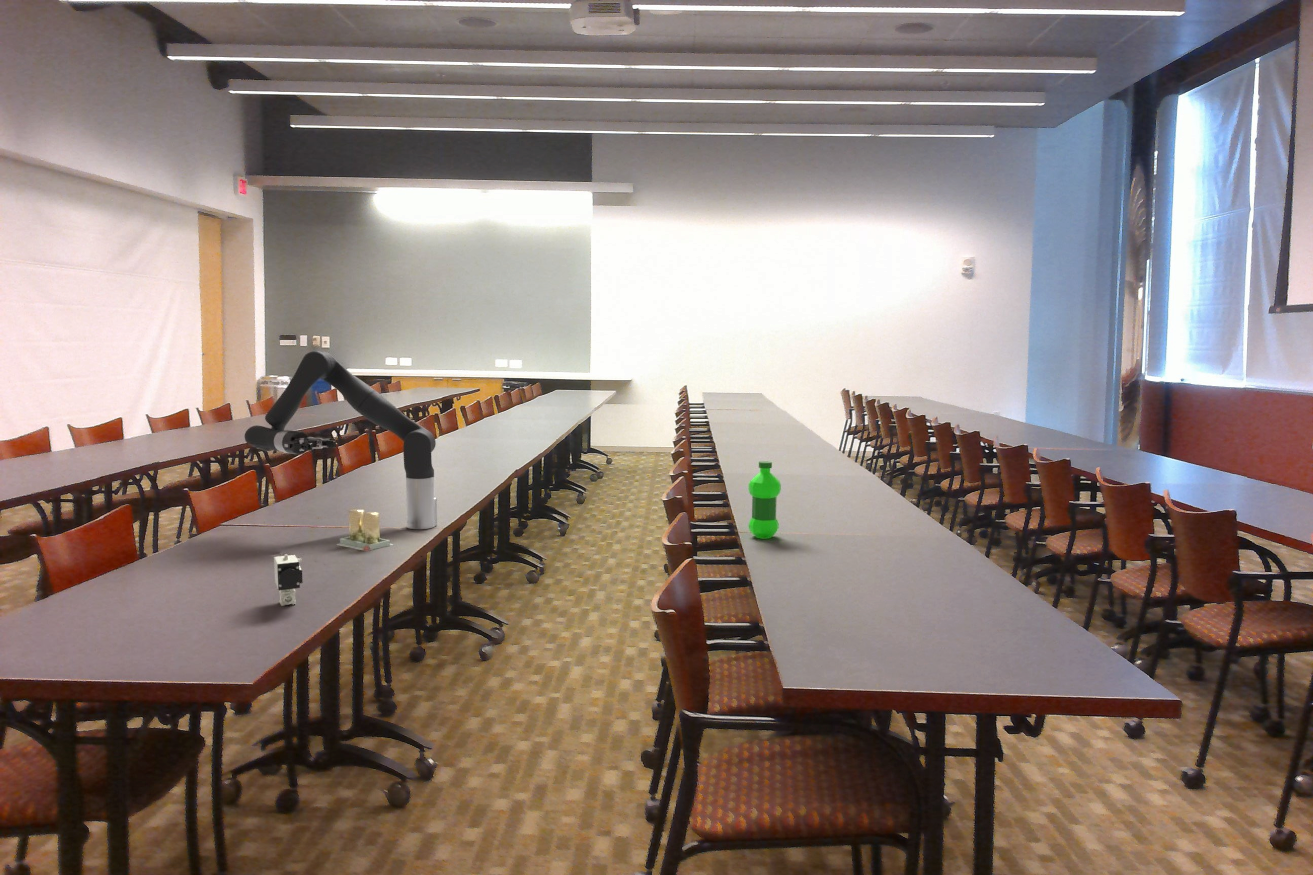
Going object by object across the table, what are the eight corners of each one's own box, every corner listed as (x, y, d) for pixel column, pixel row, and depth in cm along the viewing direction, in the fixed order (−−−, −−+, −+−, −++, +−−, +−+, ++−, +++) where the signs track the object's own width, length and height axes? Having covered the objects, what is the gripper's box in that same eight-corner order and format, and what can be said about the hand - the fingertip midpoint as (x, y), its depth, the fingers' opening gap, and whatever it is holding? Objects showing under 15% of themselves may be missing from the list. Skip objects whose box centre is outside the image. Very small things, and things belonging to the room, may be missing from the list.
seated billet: (373, 543, 261) (372, 511, 260) (383, 545, 259) (382, 512, 257) (360, 546, 257) (360, 513, 256) (370, 548, 255) (370, 515, 254)
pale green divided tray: (363, 542, 268) (363, 533, 267) (393, 549, 260) (393, 539, 260) (336, 549, 259) (336, 539, 259) (366, 555, 252) (366, 545, 252)
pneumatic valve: (279, 611, 199) (277, 561, 198) (274, 598, 210) (272, 550, 208) (305, 608, 202) (303, 558, 201) (299, 595, 212) (297, 548, 211)
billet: (359, 540, 265) (358, 508, 264) (368, 542, 262) (367, 510, 261) (346, 543, 261) (345, 510, 260) (356, 544, 258) (355, 512, 257)
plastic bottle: (770, 532, 289) (772, 459, 287) (784, 539, 279) (786, 463, 277) (742, 534, 286) (744, 460, 284) (756, 541, 276) (758, 464, 274)
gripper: (271, 432, 271) (303, 435, 262) (310, 428, 283) (342, 432, 274) (272, 455, 272) (303, 460, 263) (311, 451, 284) (343, 455, 275)
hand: (323, 445), depth 269 cm, fingers open, 8 cm apart
